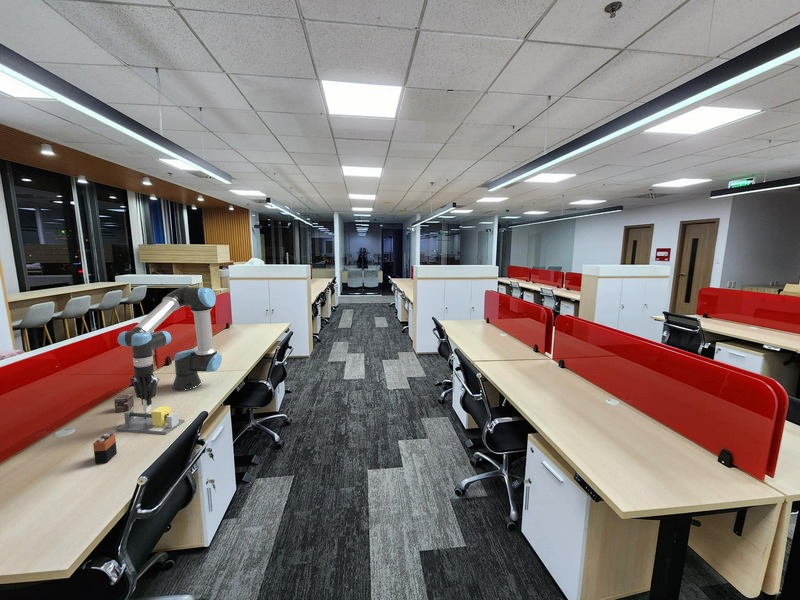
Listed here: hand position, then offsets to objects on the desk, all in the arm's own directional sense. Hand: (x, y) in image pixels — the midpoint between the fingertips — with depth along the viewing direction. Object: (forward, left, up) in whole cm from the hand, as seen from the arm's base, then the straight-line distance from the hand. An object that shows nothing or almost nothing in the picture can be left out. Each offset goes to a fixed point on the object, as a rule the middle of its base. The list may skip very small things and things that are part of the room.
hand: (147, 411), depth 161 cm
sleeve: (0, +8, -5) cm, 9 cm away
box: (-14, -26, -8) cm, 31 cm away
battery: (+26, +5, -8) cm, 28 cm away
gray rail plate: (0, +2, -8) cm, 8 cm away
